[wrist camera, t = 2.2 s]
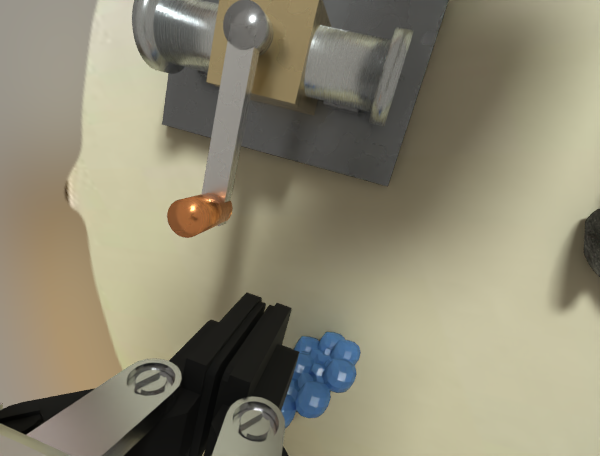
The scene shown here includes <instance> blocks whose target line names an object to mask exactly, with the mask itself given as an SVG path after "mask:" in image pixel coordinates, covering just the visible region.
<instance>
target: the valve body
mask: <svg viewBox="0 0 600 456" xmlns="http://www.w3.org/2000/svg"><path fill="white" fill-rule="evenodd" d="M237 1H239V0H134V4H133V11H132V26H133V34H134V39H135V42H136V45H137V48H138V51H139V53H140V55H141V56H142V58H143V60H144V61H145V62H146V63H147V64H148V65H149V66H150V67H151V68H153V69H155V70H158V71H162V72H166V73H169V74H168V82H167V90H166V98H165V106H164V114H163V121H162V124H163V125H166V126H170V127H174V128H177V129H181V130H185V131H188V132H192V133H195V134H199V135H203V136H206V137H210V138H211V136H212V130H213V124H214V118H215V113H216V107H217V101H218V95H219V89H220V83H221V77H222V71H223V65H224V59H225V54H226V48H227V42H228V41H227V39H226V37H225V35H224V31H223V20H224V16H225V14H226V12H227V10H228V9H229V7H230V6H231V5H232V4H233V3H235V2H237ZM251 1H254V2H255V3H257V4H258V5H259V6H260V7H261V9H262V10H263V11H264V13H265V14H266V15H267V16H268V18H269V19H270V21H271V23H272V26H273V32H274V33H273V40H272V43H271V45H270V47H269V49H268V50H267V51H266V52H265V53H264V54H262V55H260V56H259V57H258V62H257V67H256V72H255V77H254V82H253V87H252V93H251V98H250V103H249V108H248V113H247V118H246V123H245V128H244V133H243V139H242V144H241V146H243V147H246V148H250V149H254V150H257V151H261V152H264V153H268V154H272V155H275V156H279V157H283V158H286V159H290V160H294V161H297V162H301V163H304V164H308V165H312V166H315V167H319V168H323V169H326V170H330V171H334V172H337V173H341V174H344V175H348V176H352V177H355V178H359V179H363V180H366V181H370V182H373V183H377V184H381V185H384V186H388V184H389V181H390V178H391V175H392V172H393V169H394V166H395V163H396V160H397V157H398V153H399V150H400V147H401V144H402V141H403V138H404V135H405V132H406V129H407V126H408V123H409V120H410V117H411V114H412V111H413V108H414V105H415V102H416V99H417V95H418V92H419V89H420V86H421V83H422V80H423V77H424V74H425V71H426V68H427V65H428V62H429V59H430V56H431V53H432V50H433V47H434V44H435V40H436V37H437V34H438V31H439V28H440V25H441V22H442V19H443V16H444V13H445V10H446V7H447V4H448V1H449V0H251Z"/></svg>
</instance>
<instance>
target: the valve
mask: <svg viewBox="0 0 600 456" xmlns="http://www.w3.org/2000/svg"><path fill="white" fill-rule="evenodd" d="M584 255H585V257H586V259H587V261H588V263H589V265H590V266H591V268H592V269H593V271H594V272H595V273H596V274H597V275H598V276H599V277H600V209H597V210H596V211H594V212H593V213H592V214H591V215H590V216H589V217H588V218H587V220H586V222H585V238H584Z"/></svg>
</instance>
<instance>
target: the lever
mask: <svg viewBox="0 0 600 456" xmlns="http://www.w3.org/2000/svg"><path fill="white" fill-rule="evenodd" d="M223 31H224V35H225V37H226V39H227V41H228V42H227V48H226V54H225V59H224V65H223V71H222V77H221V83H220V89H219V95H218V101H217V107H216V113H215V118H214V124H213V130H212V136H211V142H210V148H209V154H208V160H207V166H206V172H205V178H204V183H203V189H202V194H201V195H197V196H193V197H189V198H185V199H180V200H177V201H175V202H174V203H172V204H171V206H170V207H169V210H168V214H167V218H168V223H169V225H170V227H171V229H172V230H173V231H174V232H175V233H176V234H177V235H179V236H181V237H186V238H189V237H193V236H195V235H197V234H200V233H202V232H204V231H206V230H208V229H210V228H213V227H215V226H222V225H224V224H226V221H227V220H228V219H229V218H230V216H231V214H232V203H231V201H230V200H231V195H232V190H233V185H234V180H235V174H236V169H237V164H238V159H239V154H240V149H241V144H242V139H243V133H244V128H245V123H246V118H247V113H248V108H249V103H250V98H251V93H252V87H253V82H254V77H255V72H256V67H257V62H258V57H259V56H260V55H262V54H264V53H265V52H266V51H267V50H268V49H269V47H270V45H271V43H272V40H273V33H274V32H273V26H272V23H271V21H270V19H269V18H268V16H267V15H266V14H265V13H264V11H263V10H262V9H261V7H260V6H259V5H258V4H257V3H255V2H254V1H251V0H239V1H237V2H235V3H233V4H232V5H231V6H230V7H229V9H228V10H227V12H226V14H225V16H224V20H223Z"/></svg>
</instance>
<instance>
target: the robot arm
mask: <svg viewBox="0 0 600 456" xmlns="http://www.w3.org/2000/svg"><path fill="white" fill-rule="evenodd" d="M261 301H262V298H261V297H258V296H255V295H252V294H250V293H246V294H245V295H244V296H243V297H242V298H241V299H240V300H239V301H238V302H237V303H236V304H235V306H234V307H233V308H232V309H231V310H230V311H229V312H228V313H227V314H226V315H225V316H224V317H223V319H222V320H221V321H220V322H216V321H214V320H210V321H208V322H207V323H206V324H205V325H204V326H203V327H202V328H201V329H200V330H199V331H198V332H197V333H196V334H195V335H194V336H193V337H192V338H191V339H190V340H189V341H188V342H187V343H186V344H185V345H184V346H183V347H182V348H181V349H180V350H179V351H178V352H177V353H176V354H175V355H174V356H173V357H172V358H171V359H170V360H169V361H167V360H163V359H146V360H142V361H138V362H136V363H134V364H132V365H130V366H129V367H127V368H126V369H124V370H123V371H121V372H120V373H118V374H117V375H115V376H114V377H112V378H111V379H109V380H108V381H106V382H105V383H103V384H102V385H100V386H99V387H97V388H95V389H90V390H84V391H79V392H74V393H69V394H64V395H58V396H53V397H48V398H43V399H37V400H32V401H27V402H22V403H18V404H15V405H11V406H8V407H7V408H4V409H3V405H2V404H3V403H0V456H202V454H203V452H204V451H205V453H204V456H288V454H287V452H286V450H285V448H284V447H283V441H284V433H285V419H284V417H283V414H282V412H281V409H282V407H283V404H284V401H285V398H286V395H287V392H288V389H289V386H290V383H291V380H292V377H293V374H294V370H295V367H296V363H297V360H298V357H299V353H300V352H299V351H296V350H293V349H291V348H288V347H285V346H282V342H283V339H284V335H285V331H286V328H287V324H288V321H289V317H290V313H291V308H290V307H287V306H284V305H282V304H279V303H276V304H275V306H272V305H269V306H268V308H267V309H266V311H265V312H264V310H265V306H266V303H263V302H261Z"/></svg>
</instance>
